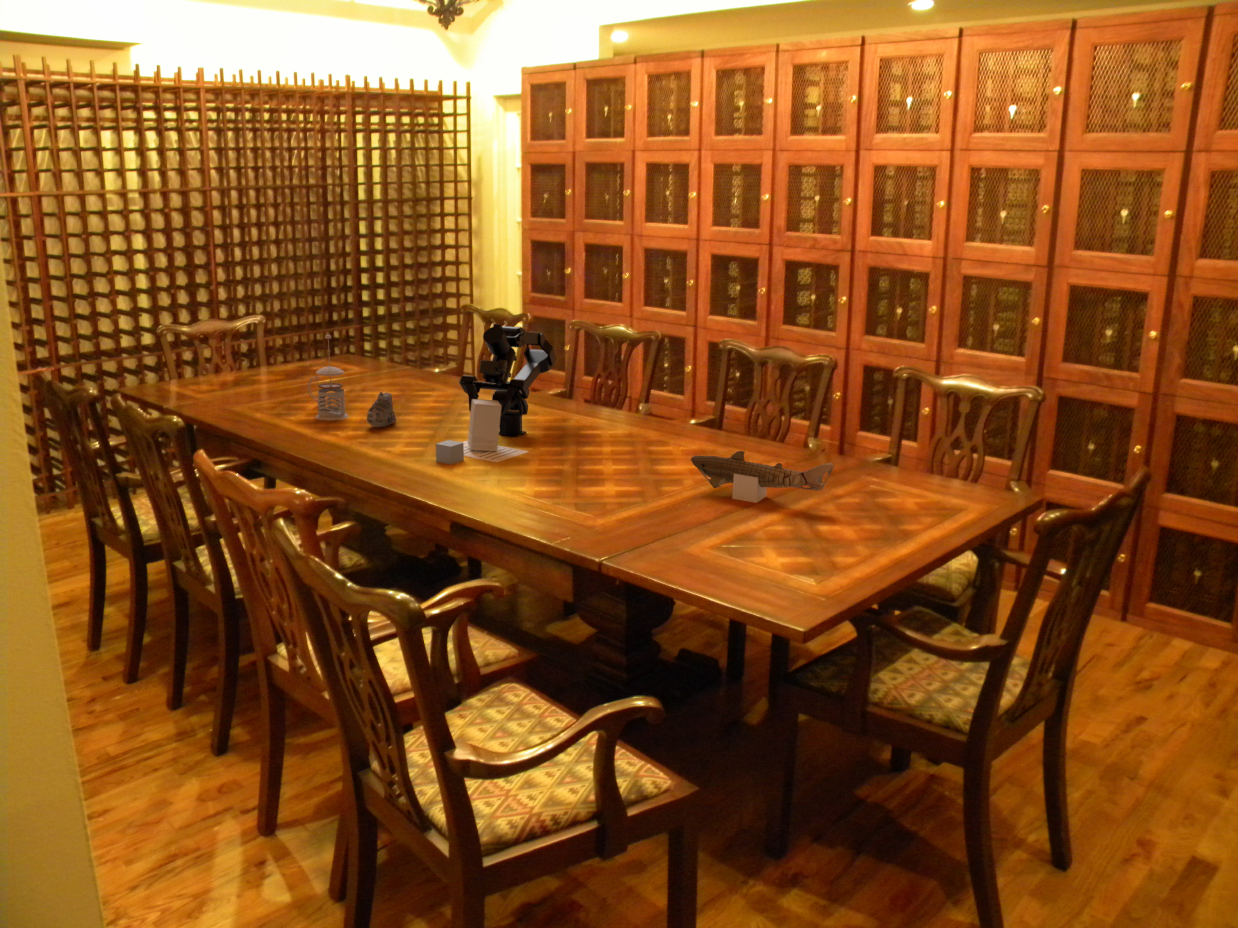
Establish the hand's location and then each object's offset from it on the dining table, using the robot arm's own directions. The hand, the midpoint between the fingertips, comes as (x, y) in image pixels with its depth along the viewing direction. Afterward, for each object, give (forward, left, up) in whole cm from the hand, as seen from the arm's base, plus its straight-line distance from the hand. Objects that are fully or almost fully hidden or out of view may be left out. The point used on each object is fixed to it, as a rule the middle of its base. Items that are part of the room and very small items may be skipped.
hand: (486, 412), depth 287 cm
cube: (+16, +1, -10) cm, 19 cm away
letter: (+3, +1, -10) cm, 10 cm away
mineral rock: (-2, -42, -10) cm, 43 cm away
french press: (-1, -62, -10) cm, 63 cm away
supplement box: (+2, 0, -9) cm, 10 cm away
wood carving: (-2, +80, -10) cm, 81 cm away
